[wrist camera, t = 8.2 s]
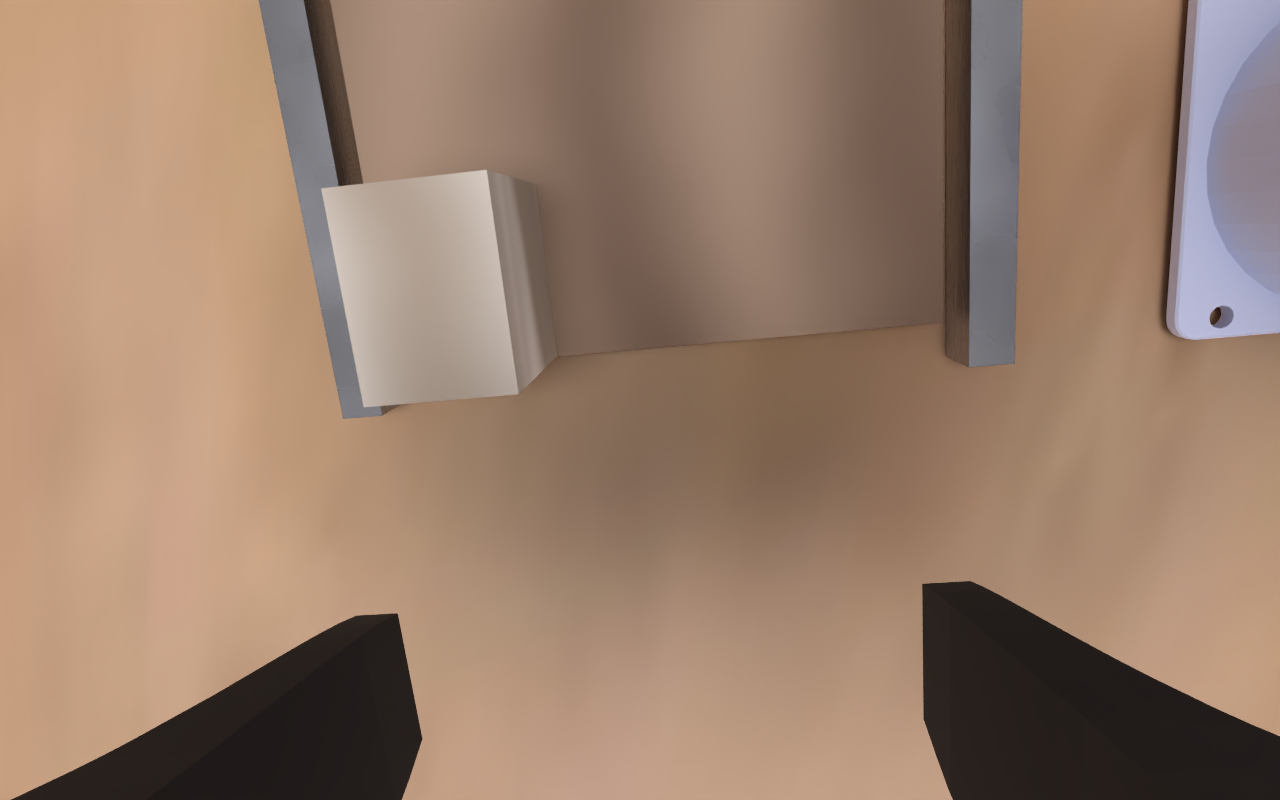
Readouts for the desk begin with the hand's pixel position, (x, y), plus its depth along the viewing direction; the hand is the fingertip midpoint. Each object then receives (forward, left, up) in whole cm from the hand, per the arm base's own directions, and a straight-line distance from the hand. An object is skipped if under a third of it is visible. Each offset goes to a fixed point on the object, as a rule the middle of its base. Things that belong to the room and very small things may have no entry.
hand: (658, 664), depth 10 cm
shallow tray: (0, -11, -9) cm, 14 cm away
